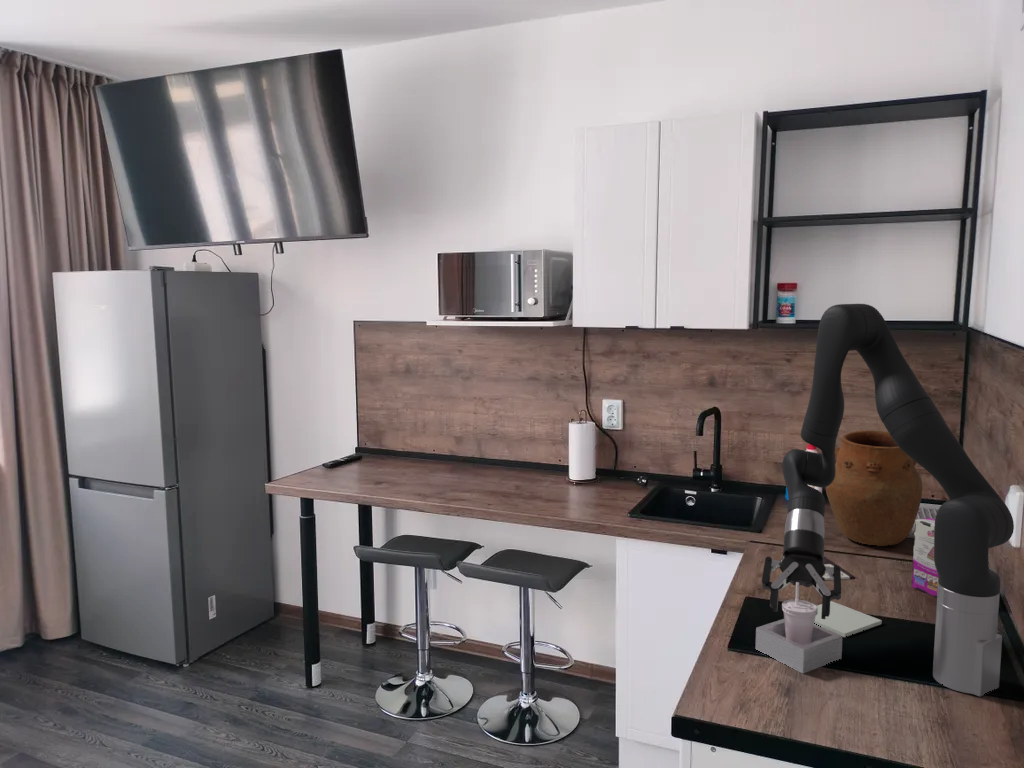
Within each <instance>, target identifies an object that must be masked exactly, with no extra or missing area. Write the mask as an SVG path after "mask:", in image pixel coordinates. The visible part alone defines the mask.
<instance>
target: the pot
mask: <svg viewBox="0 0 1024 768" xmlns="http://www.w3.org/2000/svg"><path fill="white" fill-rule="evenodd" d="M916 464H918V463H917V462H915V461H914V460H913V459H912V458H911V457H909V456H908V455H907V454H906V453H905V452H904V451H903V450H901V449H900V448H899V446H898V445H897V444H896V443H895V442H894V440H893V439H892V437H891V435H890V434H889V432H888V431H884V430H883V431H882V430H856V431H852V432H848V433H845V434H843V435H842V436H841V445H840V447H835V469H836V471H835V478H834V480H833V482H832V483H831V484H830V485H829V486H827V487H825V492H826V496H827V498H828V502H829V504H830V508H831V510H832V513H833V516H834V520H835V521H836V522H835V523H836V525H837V528H838V529H839V530H840V532H841V534H842V535H844V537H845V538H847V539H849V540H851V541H853V542H855V543H857V542H859V543H858V544H860V543H863V544H869V545H868V546H870V545H877V546H876V547H888V545H889V546H894V545H898V544H900V543H901V542H903V541H904V540H905V539H907V537H909V535H910V533H911V531H912V529H913V528H914V526H915V520H917V519H916V518H917V517H918V513H919V510H920V506H921V501H922V496H923V481H922V477H921V475H920V473H919V471H918V470H917V469H916V467H915V466H916ZM863 544H862V545H863Z"/></svg>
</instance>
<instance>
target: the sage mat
mask: <svg viewBox="0 0 1024 768" xmlns="http://www.w3.org/2000/svg"><path fill="white" fill-rule="evenodd" d="M816 606H817V608H818V609H817V611H818V614H817V615H816V616H815V621H814V623H815V624H817V625H819V626H821V627H823V628H825V629H827V630H830V631H832V632H834V633H837V634H839V635H842V638H847V637H850V636H852V634H853V635H856V634H857V633H860V632H864V631H866V630H870V629H872V628H875V627H877V626H880V625H882V619H879V618H877V617H874V616H872V615H868V614H865V613H864V612H861V611H858V610H856V609H853V608H851V607H847V606H845V605H843V604H840V603H838V602H835V601H832V600H831V601H830V615H829V617H827V616H826V617H825V619H821V617H822V603H821V604H818V605H816ZM863 630H864V631H863ZM846 636H847V637H846Z"/></svg>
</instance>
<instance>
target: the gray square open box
mask: <svg viewBox="0 0 1024 768" xmlns="http://www.w3.org/2000/svg"><path fill="white" fill-rule="evenodd" d="M755 649H756V650H758V651H760V652H762V653H764V654H767V655H769V656H770V657H772V658H774V659H776V660H777V662H778V661H779V663H780V662H781V663H780V664H782V663H783V665H784V664H786V665H787V667H788V666H789V667H788V668H790V667H791V669H792V668H793V670H795V671H797V672H799V673H801V674H806V673H808V672H811V671H814V670H817V669H818V668H821V667H824V666H826V664H827V665H829V664H831V663H830V662H832V663H834V662H833V661H835V662H837V661H839V659H840V660H842V654H843V653H842V652H843V636H842V635H839V634H837V633H834V632H832V631H830V630H827V629H825V628H823V627H820V626H818V625H816V624H814V627H813V632H812V638H811V643H809V644H806V645H803V646H802V645H800V644H798V643H796V642H794V641H791V640H789V639H787V638H786V632H785V621H784V618H782V619H778V620H776V621H773V622H770V623H766V624H763V625H761V626H757V627H756V628H755ZM756 650H755V651H756ZM758 651H757V652H758ZM760 652H759V653H760ZM762 653H761V654H762ZM764 654H763V655H764ZM770 657H769V658H770ZM772 658H771V659H772ZM774 659H773V660H774ZM776 660H775V661H776ZM836 660H837V661H836ZM828 663H829V664H828ZM786 665H785V666H786Z"/></svg>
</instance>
